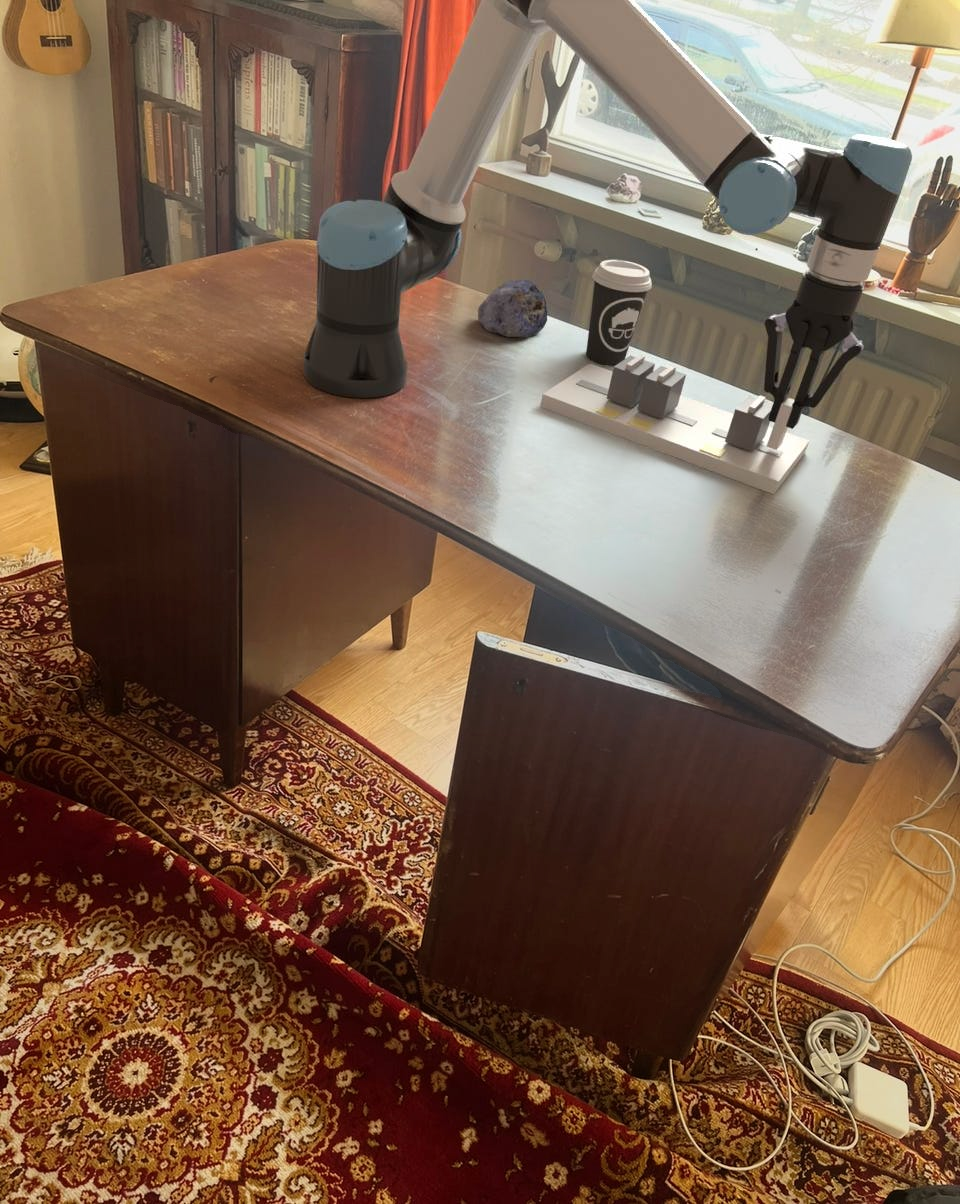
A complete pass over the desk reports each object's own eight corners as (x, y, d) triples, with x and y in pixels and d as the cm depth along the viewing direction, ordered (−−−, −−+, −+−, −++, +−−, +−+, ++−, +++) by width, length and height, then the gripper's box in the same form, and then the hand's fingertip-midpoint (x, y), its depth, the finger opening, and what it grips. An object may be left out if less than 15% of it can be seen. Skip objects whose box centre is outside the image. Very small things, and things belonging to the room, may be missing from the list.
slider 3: (724, 441, 129) (737, 403, 126) (738, 427, 133) (750, 390, 130) (752, 451, 128) (765, 413, 124) (764, 437, 132) (777, 399, 129)
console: (540, 406, 136) (542, 392, 135) (587, 375, 148) (589, 362, 146) (773, 494, 124) (779, 480, 122) (805, 452, 135) (810, 439, 134)
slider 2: (637, 409, 134) (646, 372, 130) (652, 397, 138) (662, 360, 135) (662, 419, 132) (672, 381, 129) (677, 406, 137) (687, 369, 133)
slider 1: (606, 398, 136) (615, 361, 132) (622, 386, 140) (631, 350, 136) (631, 407, 134) (640, 370, 131) (646, 395, 139) (656, 358, 135)
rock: (557, 316, 160) (541, 267, 153) (526, 356, 157) (509, 309, 149) (508, 309, 166) (490, 262, 159) (477, 348, 163) (458, 301, 155)
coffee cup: (638, 355, 157) (659, 267, 148) (626, 375, 150) (648, 283, 141) (584, 342, 159) (602, 253, 150) (570, 360, 152) (588, 268, 143)
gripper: (776, 267, 114) (721, 438, 128) (881, 297, 110) (812, 471, 124) (792, 255, 120) (738, 420, 134) (893, 284, 115) (826, 451, 129)
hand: (774, 444), depth 129 cm, fingers closed
